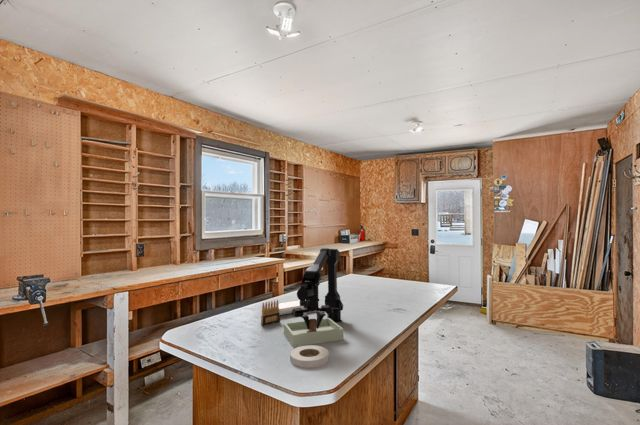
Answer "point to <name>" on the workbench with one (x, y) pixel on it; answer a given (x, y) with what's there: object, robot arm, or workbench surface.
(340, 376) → the workbench surface
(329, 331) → the box
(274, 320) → the ammunition clip
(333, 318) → the robot arm
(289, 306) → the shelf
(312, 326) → the peg
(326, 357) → the roll of tape
